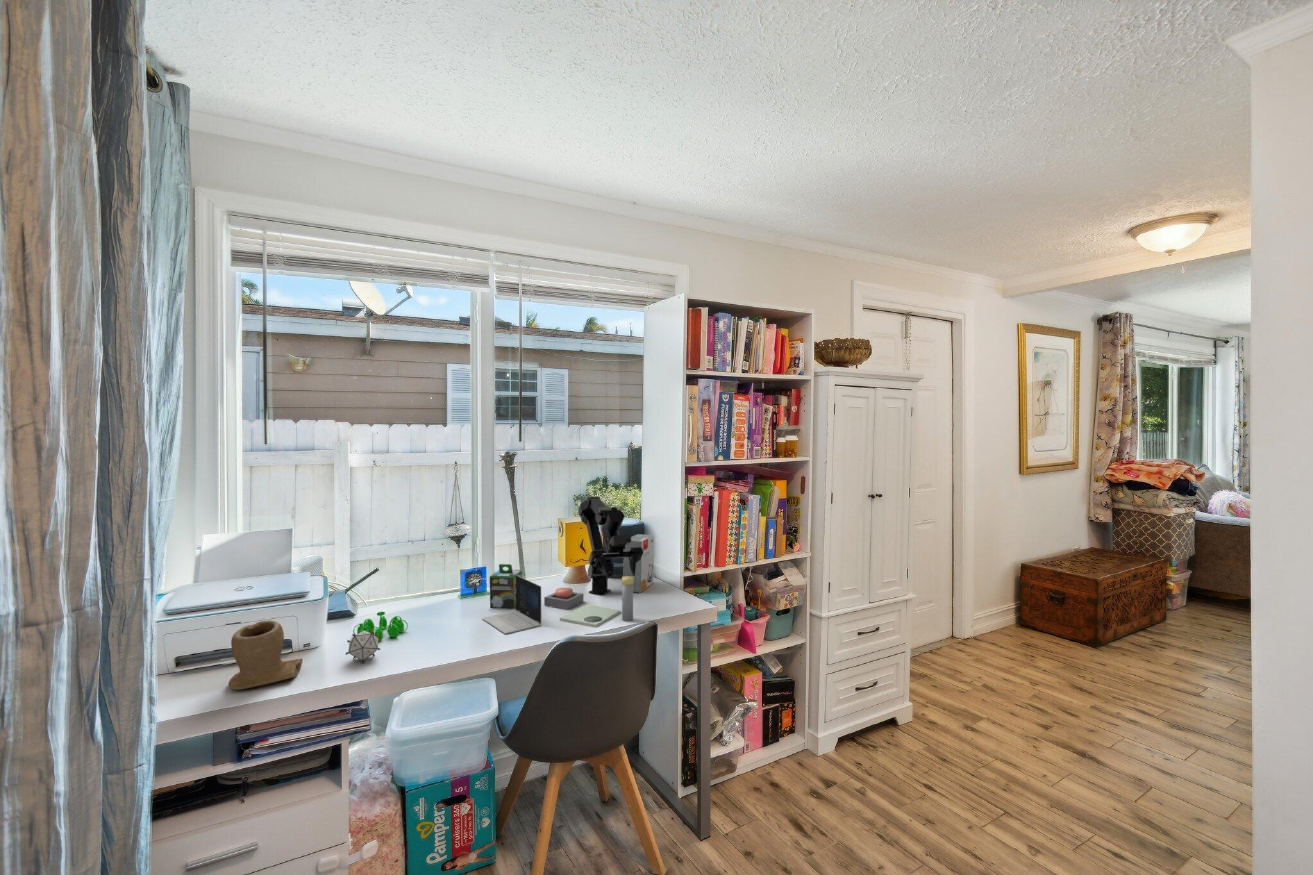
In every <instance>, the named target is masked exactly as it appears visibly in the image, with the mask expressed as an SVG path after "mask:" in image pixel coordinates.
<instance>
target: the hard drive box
mask: <svg viewBox="0 0 1313 875" xmlns="http://www.w3.org/2000/svg"><path fill="white" fill-rule="evenodd" d="M631 547H642V549H643V552H644V553H643V555H642V557H641V559H640V561H638V562H637V563H636V569H635V576H633V575H632V572H631V568H630V564H629V562H630V560H629V558H628V557H625V558H623V561H622V562H623V565H622V566H623V567H622V569H623V570H622V571H623V572H622V574H623V575H622V577H624V576H632V577H633V593H642V592H643V591H645V590H646V589H648V586H649V587H651V585H653V584H652V583H654V561H655V560H654V556H655V555H654V554H655V535H653V534H640V533H639V534H638V533H637V534H636V535H635V534H634V535H633V536H631V542H630V543H627V545H625V549H624V550H623V551H624V552H627V551H630V549H631Z"/></svg>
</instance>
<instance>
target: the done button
mask: <svg viewBox="0 0 1313 875" xmlns="http://www.w3.org/2000/svg"><path fill="white" fill-rule="evenodd" d="M555 592H556V598H561V599H568V598H571V597H572V595H573V592H574V591H573V588H571V587H559V588H557V589H555Z"/></svg>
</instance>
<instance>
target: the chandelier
mask: <svg viewBox="0 0 1313 875" xmlns="http://www.w3.org/2000/svg"><path fill="white" fill-rule="evenodd" d="M385 615H386V612H385V611H378V612H377V613H376V616H377V617H379V622H378V625H379V626H375V623H374V621H373V620H372V619H371V618H366V619H365V620H364V621H363V622H361V623H358V624H357V625H355V626H354V628H353V630H352V631H353V633H352V634H354V635H357V634H358V633H360V632H362V631H364V630H363V628H364V627H365V628H366V629H365V631H368V632H370V633H372V632H374V635H375V636H377V637H380V636H381V638H380V639H378V643H379V642H380V641H381V640H383V639H384V638H383V631H387V634H388V637H389V638H391V637H392V638H394V639H396V638H398V636H399V633H405V632H406V631H407V630H408V622H407V621H406V619H402V616H399V615H396V616H393V617H392V618H391V619H390V621H389V624H388V621H387V617H385ZM404 622H405V624H406V628H405V624H404ZM356 628H357V629H356ZM355 630H356V633H355Z"/></svg>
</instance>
